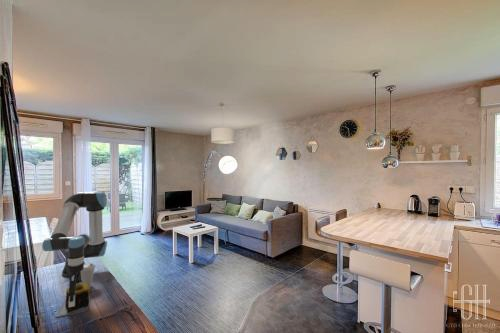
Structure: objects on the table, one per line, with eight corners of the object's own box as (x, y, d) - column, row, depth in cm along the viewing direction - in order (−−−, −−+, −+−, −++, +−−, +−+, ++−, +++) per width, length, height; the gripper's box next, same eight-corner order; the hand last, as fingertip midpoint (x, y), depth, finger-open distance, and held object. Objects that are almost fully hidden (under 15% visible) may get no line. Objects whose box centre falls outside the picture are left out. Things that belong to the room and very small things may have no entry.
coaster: (62, 303, 136) (62, 302, 136) (90, 298, 142) (90, 297, 142) (55, 318, 123) (55, 316, 123) (86, 311, 130) (86, 310, 130)
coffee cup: (85, 291, 149) (86, 269, 149) (73, 289, 151) (74, 267, 151) (98, 284, 159) (98, 263, 159) (86, 282, 161) (87, 261, 161)
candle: (67, 313, 126) (68, 295, 127) (64, 305, 134) (65, 288, 134) (89, 305, 134) (89, 288, 134) (85, 298, 141) (86, 282, 141)
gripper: (73, 256, 142) (71, 290, 142) (61, 274, 120) (60, 314, 120) (87, 255, 146) (86, 288, 146) (79, 271, 123) (77, 310, 123)
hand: (74, 300), depth 133 cm, fingers open, 13 cm apart
